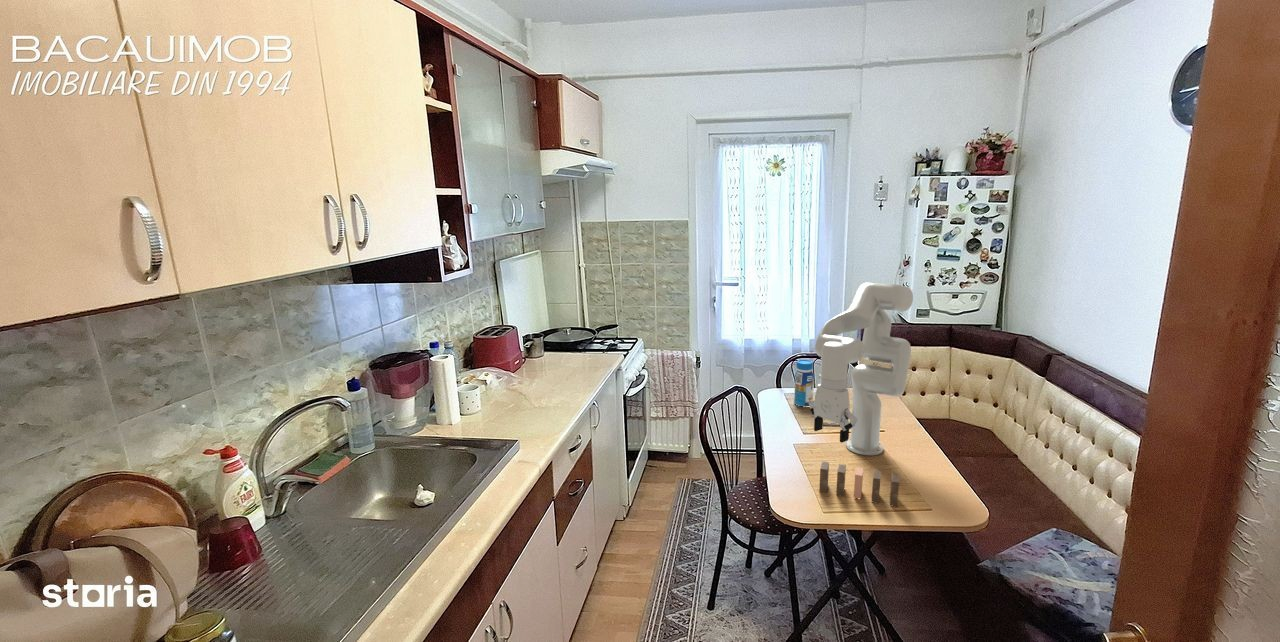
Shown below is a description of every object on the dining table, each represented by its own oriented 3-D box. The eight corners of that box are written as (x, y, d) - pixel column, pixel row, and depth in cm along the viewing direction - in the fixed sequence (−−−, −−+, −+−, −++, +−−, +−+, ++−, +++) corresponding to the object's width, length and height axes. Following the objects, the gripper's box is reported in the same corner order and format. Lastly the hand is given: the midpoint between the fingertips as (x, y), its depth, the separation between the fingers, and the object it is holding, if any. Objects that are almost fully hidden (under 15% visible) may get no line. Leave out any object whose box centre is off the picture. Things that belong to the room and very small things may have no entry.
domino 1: (819, 491, 164) (820, 468, 162) (821, 484, 168) (822, 461, 166) (826, 493, 163) (827, 469, 161) (827, 485, 167) (829, 462, 165)
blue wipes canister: (791, 400, 238) (793, 358, 233) (811, 400, 237) (812, 358, 232) (795, 407, 229) (796, 364, 225) (815, 407, 229) (816, 364, 224)
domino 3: (853, 498, 159) (855, 474, 158) (854, 490, 164) (856, 467, 162) (860, 499, 159) (862, 475, 157) (861, 491, 163) (863, 468, 161)
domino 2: (836, 495, 162) (837, 471, 160) (837, 487, 166) (839, 464, 164) (843, 496, 161) (844, 472, 159) (844, 488, 165) (845, 465, 163)
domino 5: (889, 505, 155) (891, 481, 153) (890, 497, 159) (891, 473, 158) (897, 507, 154) (899, 482, 152) (897, 498, 159) (899, 474, 157)
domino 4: (871, 502, 157) (873, 477, 155) (872, 493, 162) (873, 470, 160) (878, 503, 156) (880, 479, 155) (879, 495, 161) (880, 471, 159)
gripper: (802, 377, 162) (800, 428, 166) (849, 393, 148) (846, 449, 151) (819, 373, 166) (817, 423, 170) (866, 388, 151) (863, 442, 155)
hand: (830, 435), depth 161 cm, fingers open, 9 cm apart
